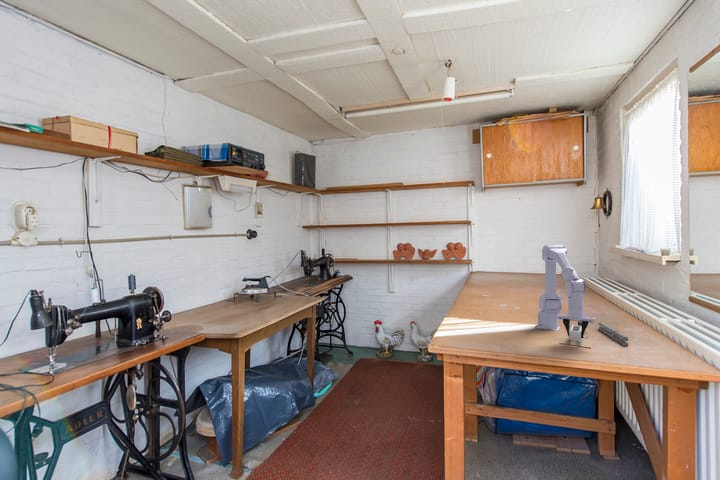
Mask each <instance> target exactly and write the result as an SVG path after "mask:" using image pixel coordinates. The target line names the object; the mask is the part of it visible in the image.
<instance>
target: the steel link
mask: <svg viewBox="0 0 720 480" xmlns="http://www.w3.org/2000/svg"><path fill="white" fill-rule="evenodd" d="M581 332H582V327H581V326H578V324H577V325H575V324H571V325H570V330H569V336H568V340H569V341H575V342H580V343H581V342H582V339H583V338H581Z"/></svg>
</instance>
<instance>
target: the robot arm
mask: <svg viewBox="0 0 720 480" xmlns="http://www.w3.org/2000/svg"><path fill="white" fill-rule="evenodd" d="M567 255H568V248H567V246H566V245H565V244H555V245H554V244H552V245H550V244H544V245H543V247H542V248H541V258H542V261H544V262H545V263H544V264H545V265H544V266H545V267H544V268H545V269H544V271H545V273H544V274H545V277H544V278H545V279H544V280H545V286H544V287H545V288H544V289H545V291H544V293H541V294H540V295H539V300H538V308H539V310H538V312H537V328H538V329H545V330H553V331H559V330H560V328H561V326H559V320H562V323H563V326H564V328H565V331H566V333H567V337H569V330H570V328H571V325H570V324H571V322H572V321H573V322H578V321H581V327H582V332H581V338H582V339H584V338H583V336H584V332H585V330H587V328H588V325H589V323H591V324H596V317H590V316H589V317H588V316H584V293H585V292H586V290H587V285H586V281H585V280H584V279H582V278H580V277H579V276H578V273H577V271H576V270H575V268H574V267H572V266H571V265H570V262H569V260H568V257H567ZM557 263H558V266H559V267H560V268H561V273H560V274H561V276H562V278H563V279H564V282H565V290H566V295H567V297H568V298H567V303H568V304H567V305H568V306H567V307H568V308H567V309H568V310H567V314H560V313H561V311H562V309H563V306H564V305H563V301H562V296H561V295H559V294H558V293H557Z"/></svg>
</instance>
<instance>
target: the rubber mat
mask: <svg viewBox="0 0 720 480" xmlns="http://www.w3.org/2000/svg"><path fill="white" fill-rule="evenodd" d="M558 344H559V345H564V346H570V347H577V348H583V349H589V350H591V349H592V347H591V346H590V347H589V346H582V345H577V344H576V345H575V344H570V343H561V342H559V343H558Z"/></svg>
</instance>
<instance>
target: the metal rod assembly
mask: <svg viewBox="0 0 720 480" xmlns="http://www.w3.org/2000/svg"><path fill="white" fill-rule="evenodd" d="M597 324H598V328H597V329H598V331H600V332H602V333H603V334H605V335H606V336H607V337H609V338H611V339H612V340H614V341H615V342H617V343H619V344H620V345H623V346H626V347H628V346H629V343H628V341H629V337H628V336H626V335H625V334H622V333H621V332H620V331H619V330H617V329H614V328H612V327H611V326H609V325H608V324H606V323H604V322H602V321H598V323H597Z"/></svg>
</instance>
